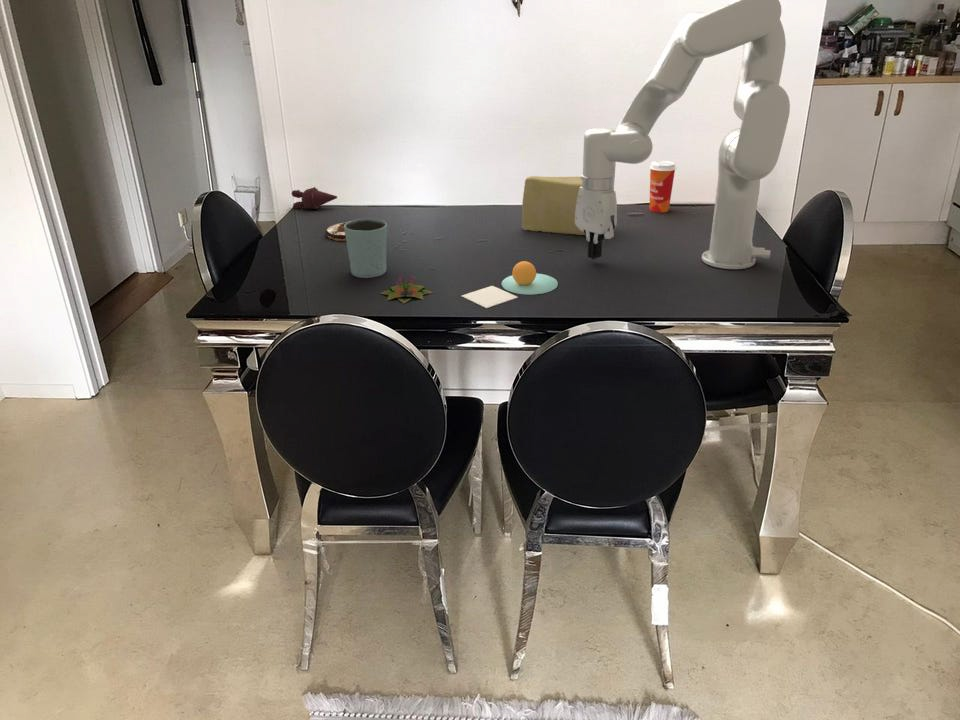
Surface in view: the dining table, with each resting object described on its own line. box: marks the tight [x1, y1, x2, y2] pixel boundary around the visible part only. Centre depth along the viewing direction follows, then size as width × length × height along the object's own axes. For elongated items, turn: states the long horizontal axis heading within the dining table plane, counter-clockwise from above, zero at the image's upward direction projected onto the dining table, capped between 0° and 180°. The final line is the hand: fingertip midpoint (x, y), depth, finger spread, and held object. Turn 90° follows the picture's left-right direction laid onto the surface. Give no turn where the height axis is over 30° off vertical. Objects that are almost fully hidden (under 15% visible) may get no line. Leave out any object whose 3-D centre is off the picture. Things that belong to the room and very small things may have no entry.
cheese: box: [521, 175, 586, 237], centre depth 205 cm, size 22×10×15 cm, turn 78°
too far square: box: [461, 285, 519, 309], centre depth 167 cm, size 9×9×1 cm
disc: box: [501, 272, 559, 296], centre depth 173 cm, size 13×13×1 cm
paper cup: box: [649, 160, 677, 214], centre depth 220 cm, size 8×8×14 cm
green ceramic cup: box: [344, 218, 388, 279], centre depth 180 cm, size 10×10×12 cm
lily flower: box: [379, 274, 435, 304], centre depth 169 cm, size 12×12×5 cm
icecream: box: [291, 186, 338, 210], centre depth 232 cm, size 7×7×15 cm
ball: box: [511, 260, 537, 285], centre depth 172 cm, size 6×6×6 cm
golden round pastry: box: [325, 220, 350, 242], centre depth 209 cm, size 15×15×4 cm
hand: (594, 256), depth 184 cm, fingers closed
